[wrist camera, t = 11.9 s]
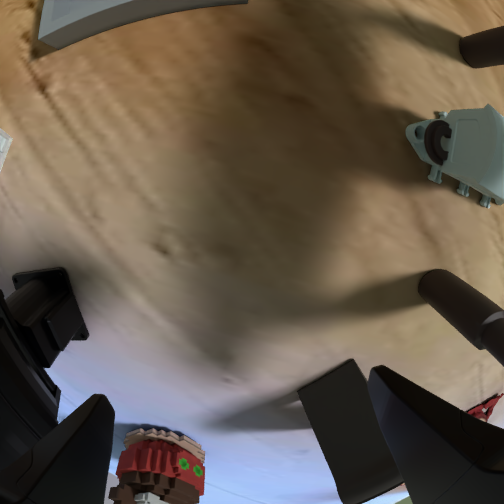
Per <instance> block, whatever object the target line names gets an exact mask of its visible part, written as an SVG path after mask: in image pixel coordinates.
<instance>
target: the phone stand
mask: <svg viewBox="0 0 504 504" xmlns="http://www.w3.org/2000/svg"><path fill="white" fill-rule="evenodd" d="M367 385H368V381H367V379H366V378H365V376H364V375H363V373H362V371H361V370H360V368H359V367H358V365H357V364H356V362H355V360H354V359H353V360H351V361H350V362H348V363H347V364H345V365H343V366H342V367H340V368H338V369H337V370H335V371H333V372H332V373H330V374H328V375H326V376H325V377H323V378H321V379H319V380H318V381H316V382H314V383H312V384H310V385H308V386H307V387H305V388H303V389H301V390H299V391H297V392H298V395H299V397H300V400H301V402H302V405H303V407H304V409H305V412H306V414H307V416H308V419H309V421H310V424H311V426H312V428H313V431H314V433H315V435H316V438H317V440H318V442H319V445H320V447H321V449H322V452H323V454H324V456H325V459H326V461H327V463H328V466H329V468H330V470H331V473H332V475H333V477H334V480H335V483H336V487H337V491H338V494H339V497H340V499H341V501H342V503H343V504H362V503H365V502H367V501H369V500H371V499H374V498H376V497H378V496H380V495H382V494H384V493H386V492H388V491H390V490H392V489H394V488H396V487H398V486H400V485H402V484H403V483H404V481H403V478H402V476H401V474H400V471H399V469H398V467H397V464H396V462H395V460H394V457H393V455H392V453H391V451H390V448H389V446H388V444H387V442H386V439H385V437H384V435H383V433H382V430H381V428H380V426H379V423H378V420H377V417H376V413H375V410H374V407H373V404H372V401H371V398H370V395H369V392H368V386H367Z"/></svg>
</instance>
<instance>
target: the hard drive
mask: <svg viewBox="0 0 504 504" xmlns="http://www.w3.org/2000/svg"><path fill="white" fill-rule="evenodd" d="M12 140H13V138H12V137H10V136H9V135H8V134H7V133H6V132H4V131H3V130H2V129H1V128H0V172H1V169H2V166H3V163H4V160H5V158H6V155H7V152H8V150H9V147H10V145H11V142H12Z"/></svg>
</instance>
